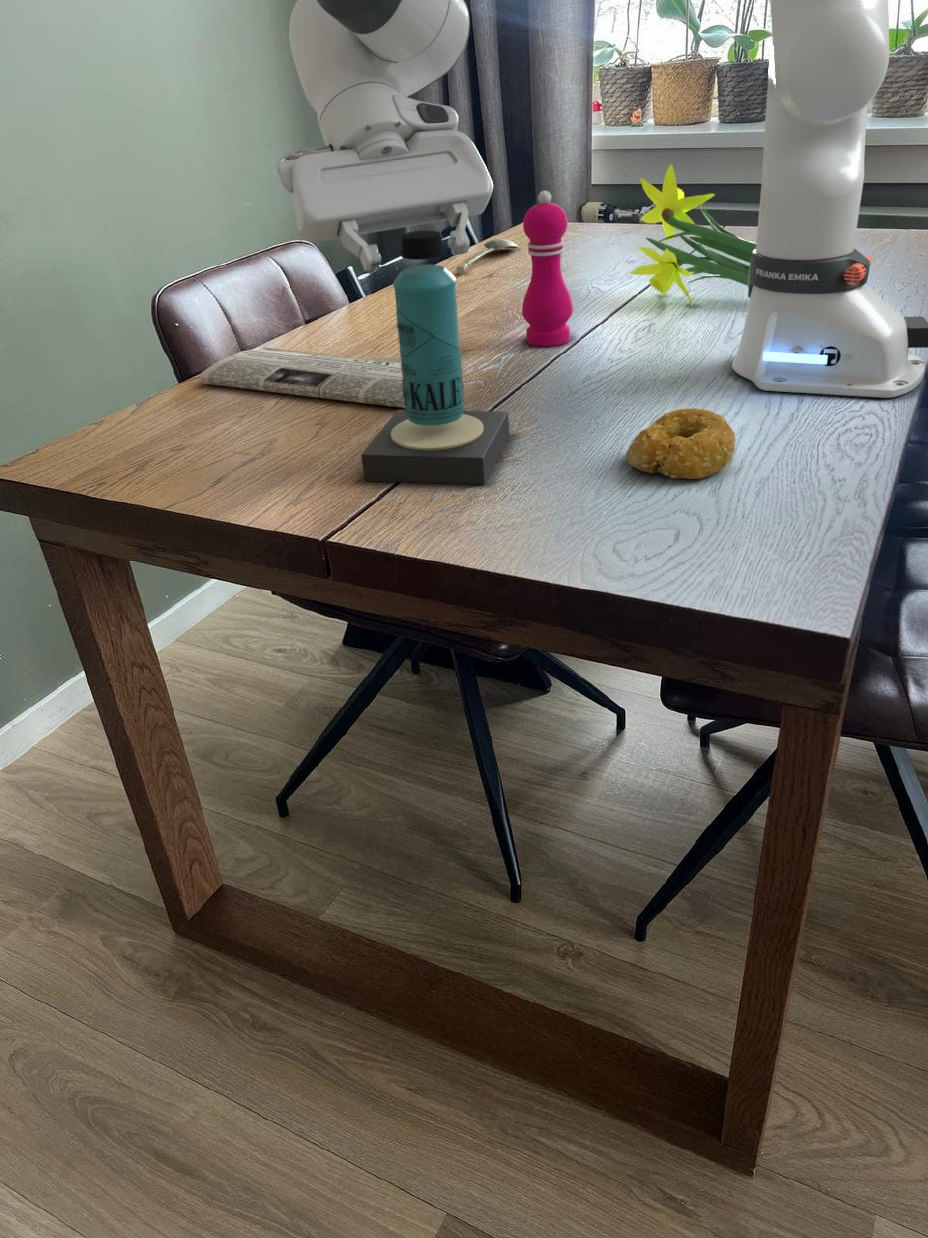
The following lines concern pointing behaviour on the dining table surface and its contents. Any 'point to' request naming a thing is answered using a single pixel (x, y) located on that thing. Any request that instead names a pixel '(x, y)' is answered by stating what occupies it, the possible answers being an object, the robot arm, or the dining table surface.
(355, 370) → the newspaper
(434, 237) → the beverage bottle
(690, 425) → the bagel
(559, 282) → the pepper mill
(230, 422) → the dining table surface
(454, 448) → the display stand
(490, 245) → the soupspoon
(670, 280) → the daffodil flowers
